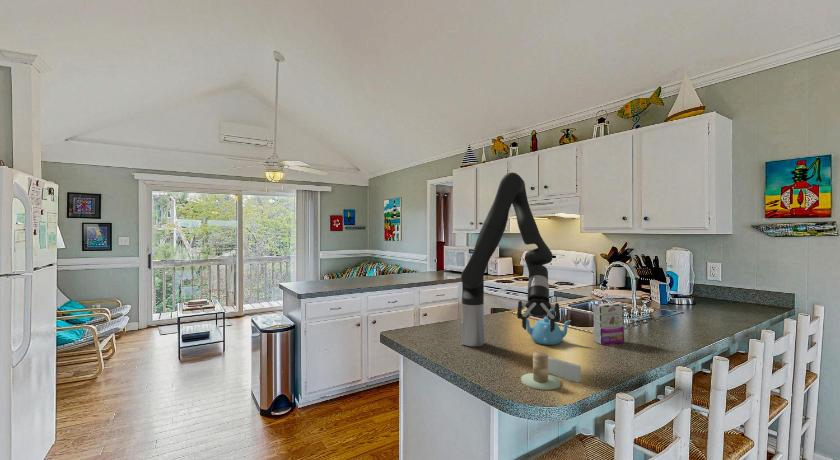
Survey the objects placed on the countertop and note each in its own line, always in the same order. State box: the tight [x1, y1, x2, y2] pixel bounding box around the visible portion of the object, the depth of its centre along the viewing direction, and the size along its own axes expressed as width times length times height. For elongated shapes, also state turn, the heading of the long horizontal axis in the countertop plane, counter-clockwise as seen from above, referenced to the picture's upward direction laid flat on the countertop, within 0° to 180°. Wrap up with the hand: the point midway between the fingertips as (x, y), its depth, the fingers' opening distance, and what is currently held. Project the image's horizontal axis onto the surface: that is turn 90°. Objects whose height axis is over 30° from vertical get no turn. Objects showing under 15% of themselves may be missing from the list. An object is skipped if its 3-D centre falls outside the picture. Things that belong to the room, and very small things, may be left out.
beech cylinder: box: [532, 351, 549, 383], centre depth 118 cm, size 4×4×8 cm
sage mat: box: [520, 372, 562, 391], centre depth 118 cm, size 12×12×1 cm
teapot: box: [526, 315, 572, 346], centre depth 161 cm, size 15×15×10 cm
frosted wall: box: [548, 356, 582, 383], centre depth 123 cm, size 16×2×5 cm, turn 39°
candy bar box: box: [592, 302, 625, 346], centre depth 158 cm, size 11×5×16 cm, turn 102°
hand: (538, 329), depth 126 cm, fingers open, 8 cm apart
